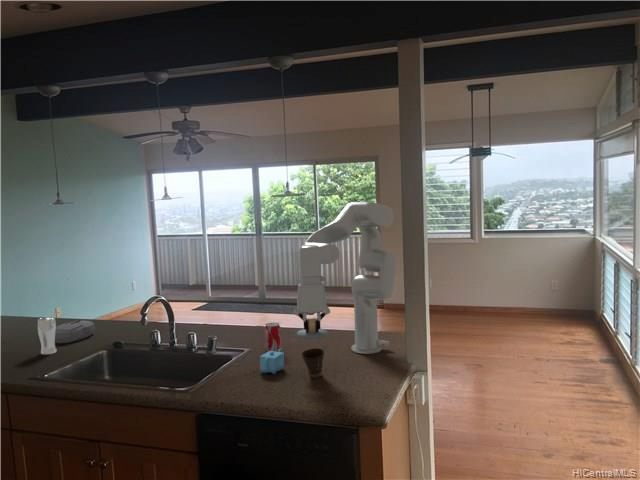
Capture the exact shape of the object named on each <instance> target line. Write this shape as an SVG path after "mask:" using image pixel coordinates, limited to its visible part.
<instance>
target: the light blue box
mask: <svg viewBox="0 0 640 480" xmlns="http://www.w3.org/2000/svg"><path fill="white" fill-rule="evenodd" d="M259 363H260V364H259V365H260V367H259V368H260V372H263V373H264V374H267V373H271V374H272V375H276V374H277V372H280V371H282V369H284V368H285V353H284V352H283V351H282V348H281V349H279V350H278V352H274V351H269V352H265V353H263V354H261V355H260V356H259Z"/></svg>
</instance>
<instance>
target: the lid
mask: <svg viewBox="0 0 640 480" xmlns="http://www.w3.org/2000/svg"><path fill="white" fill-rule="evenodd" d="M316 320H317V317H308V318H307V321H308V332H307V333H306V330H304V328H303V329H299V330H298V331H297V332H296V336H297V337H298V338H300V339H306V340H318V339H322V338H326V337H328V335H329V333H328V330H326V329H325V328H324V329H323V328H320V329H319V332H317V329H316Z"/></svg>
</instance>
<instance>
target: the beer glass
mask: <svg viewBox="0 0 640 480" xmlns="http://www.w3.org/2000/svg"><path fill="white" fill-rule="evenodd" d="M56 327H57V322H56V317H53V316H46V317H41V318H38V319H37V332H38V333H37V334H38V337H39V341H40V346H41V349H40V355H43V356H48V355H53V354H56V353H57V351H58V349H57V346H56V343H55V338H56Z"/></svg>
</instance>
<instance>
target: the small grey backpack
mask: <svg viewBox="0 0 640 480" xmlns="http://www.w3.org/2000/svg"><path fill="white" fill-rule="evenodd" d="M95 331H96V326H95V324H94V322H93V321H91V320H81V319H78V320H76V319H74V320H69V321H67V322H64V323H62V324H59V325H58V326H57V325H56V338H55V344H69V343H73V342H78V341H81V340H84V339H86V338H88V337H90V336H91V335H93V334H94V333H95Z"/></svg>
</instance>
